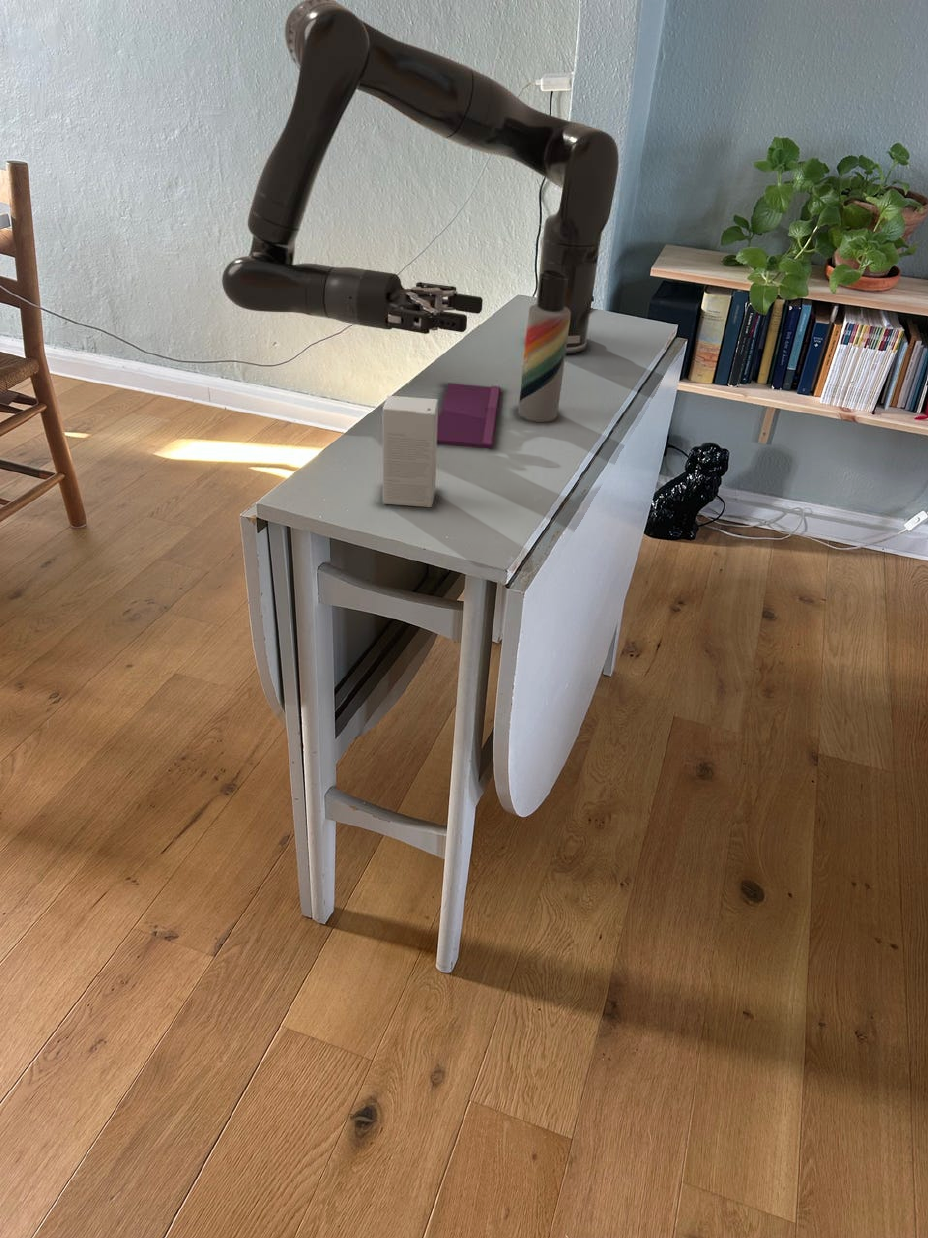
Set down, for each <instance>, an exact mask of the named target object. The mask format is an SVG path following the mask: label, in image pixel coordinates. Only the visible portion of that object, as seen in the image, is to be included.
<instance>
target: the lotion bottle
mask: <svg viewBox="0 0 928 1238" xmlns="http://www.w3.org/2000/svg"><path fill="white" fill-rule="evenodd" d="M538 279H539V287H538V286H537V289H538V297H537V296H536V298H537V304H536V303H534V304H532V305H530V306H529V309H528V315H527V325H526V333H525V344H524V351H523V361H522V362H523V363H522V369H521V371H522V372H521V378H520V379H521V380H520V390H519V399H518V414H519V416H520V417H522V418H523V419H525V420H528V421H531V422H537V423H545V422H551V421H554V420H555V419H556V418H557V416H558V413H559V412H558V411H559V405H560V398H561V390H562V384H563V383H562V382H563V375H564V370H565V369H564V368H565V361H566V347H567V339H568V332H569V324H570V316H571V312H570V310H569V309H568V308H566V307H564V306H565V299H566V292H567V285H568V277H567V276H566V275H565V274H563V273H561V272H559V271H554V270H544V271H543V273H542V274H541V275H540V278H539V277H538Z"/></svg>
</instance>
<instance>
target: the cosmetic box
mask: <svg viewBox="0 0 928 1238" xmlns="http://www.w3.org/2000/svg"><path fill="white" fill-rule="evenodd" d="M381 414H382V415H381V417H382V420H381V421H382V503H383V504H385V505H395V506H396V505H398V506H411V507H425V508H432V507H433V503H434V499H435V493H436V481H437V480H436V479H437V478H436V475H437V450H438V448H437V447H438V443H437V424H438V420H439V415H438V414H439V400H438V398H424V397H422V398H421V397H413V396H412V397H410V396H397V395H387V397H386V399H385V402H384V405H383V407H382V410H381Z"/></svg>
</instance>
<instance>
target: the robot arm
mask: <svg viewBox="0 0 928 1238" xmlns="http://www.w3.org/2000/svg"><path fill="white" fill-rule="evenodd" d="M284 40H285V45H286V48H287V51H288V54H289V56H290V58H291V60H292V62H293V63H294V65H295V66H296V68H297V69H298V70H299V73H298V78H297V85H296V90H295V96H294V100H293V103H292V107H291V110H290V113H289V116H288V118H287V121H286V123H285V126H284V128H283V129H282V132H281V134H280V135H279V138H278V140H277V141H276V142H275V145H274V146H273V149H272V150H271V152H270V154H269V156H268V158H267V159H266V162H265V163H264V166H263V169H262V171H261V174H260V176H259V179H258V182H257V186H256V189H255V192H254V195H253V198H252V203H251V206H250V209H249V212H248V216H247V217H248V218H247V228H248V230H249V232H250V234H251V235H252V241H251V246H250V250H249V254H248V255H245V256H240V257H236V258H235V259H233V260H232V261H230V262H229V263H228V264H227V265H226V267H225V268H224V270H223V273H222V276H221V283H222V289H223V292H224V294H225V295H226V297H227V298H228V299H229V301H231V302H232V303H233V304H234V305H235V306H237V307H239V308H242V309H243V310H248V311H254V312H263V313H295V314H296V313H297V314H303V315H307V316H312V317H317V318H323V319H331V320H335V321H338V322H341V323H345V324H350V325H356V326H363V327H369V328H375V329H382V330H389V331H390V330H392V329H397V330H401V331H406V332H412V333H419V334H424V335H427V334H430V331H438V330H445V331H451V332H458V333H464V332H465V331H466V330H467V329H468V328H467V326H468V316H467V315H466V314H464V313H471V314H477V315H478V314H481V312H482V311H483V304H484V302H483V300H484V299H483V297H481V296H478V295H472V294H463V293H458V291H457V287H456V286H454V285H445V284H436V283H429V282H422V281H419V282H416V283H415V286H413V287H410V288H405V287H403V285H402V281H401V277H400V276H399V275H398V274H396V273H393V272H385V271H379V270H372V269H365V268H359V267H352V266H333V265H325V264H319V263H308V262H307V263H305V262H304V263H297V264H294V260H295V253H296V242H297V241H296V240H297V237H298V235H299V232H300V229H301V226H302V223H303V220H304V217H305V214H306V211H307V207H308V205H309V201H310V198H311V195H312V192H313V189H314V186H315V184H316V180H317V177H318V174H319V172H320V169H321V166H322V164H323V161H324V159H325V156H326V154H327V152H328V150H329V147H330V145H331V142H332V140H333V138H334V136H335V134H336V132H337V129H338V128H339V125H340V123H341V121H342V119H343V116H344V114H345V112H346V111H347V108H348V107H349V106H350V103H351V101H352V99H353V97H354V95H355V93H356V92H357V91H360V92H362V93H365V94H367V95H370V96H373V97H375V98H377V99H379V100H380V101H382V102H384V103H386V104H387V105H389V106H390V107H391V108H393V109H395V110H396V111H397V112H398V113H401V114H402V115H403V116H405V117H407V118H408V119H409V120H411V121H413V122H414V123H416V124H417V125H420V126H421V127H423V128H425V129H426V130H427V131H430V132H432V133H434V134H436V135H438V136H440V137H442V138H444V139H447V140H449V141H451V142H453V143H456V144H457V145H460V146H463V147H466V148H468V149H472V150H475V151H477V152H482V153H485V154H489V155H493V156H499V157H503V158H508V159H511V160H513V161H516V162H518V163H520V164H522V165H523V166H525V167H527V168H529V169H530V170H532V171H534V172H535V173H537V174H538V175H540V176H542V177H543V178H545V179H546V180H548V181H549V182H550V183H552V184H554V185H555V186H557V187H558V188H560V189H561V195H560V201H559V207H558V210H557V211H556V212H555V213H553V214H551V215H549V216H548V217H546V219H545V221H544V224H543V233H542V242H541V251H540V264H539V270H538V271H539V272H538V280H537V288H536V290H537V291H536V297H535V298H536V299H535V304H537V297H538V287H539V278H540V275H541V274H542V273H543V271H544V270H554V271H559V272H561V273H563V274H565V275H566V276H567V277H568V285H567V292H566V299H565V306H564V307H566V308H568V309H569V310H570V312H571V316H570V324H569V332H568V339H567V347H566V354H567V355H568V354H576V353H577V354H578V353H580V352H582V351H584V350H585V349H586V347H587V343H588V342H587V341H588V340H587V336H588V330H589V324H590V316H591V309H592V304H593V302H594V301H595V296H594V289H595V284H596V283H595V282H596V277H597V268H598V261H599V255H600V247H601V240H602V235H603V232H604V230H605V228H606V226H607V224H608V222H609V219H610V215H611V211H612V205H613V199H614V195H615V191H616V185H617V179H618V172H619V164H620V159H619V157H620V155H619V149H618V145H617V143H616V141H615V139H614V137H613V136H611V134H609V133H608V132H606V131H604V130H602V129H599V128H596V127H593V126H591V125H587V124H583V123H580V122H576V121H571V120H567V119H565V118H564V119H563V118H560V117H557V116H553V115H551V114H548V113H545V112H542V111H540V110H537V109H535V108H533V107H531V106H529V105H528V104H526V103H525V102H524V101H522V99H520V98H519V97H517V95H515V94H514V93H513V92H512V91H511V90H509V89H508V88H507V87H505V86H504V85H502V84H501V83H499V82H498V81H496V80H495V79H493V78H491V77H489V76H487V75H486V74H483V73H481V72H479V71H477V70H475V69H473V68H472V67H469V66H467V65H465V64H463V63H461V62H458V61H456V60H454V59H451V58H448V57H445V56H444V55H440V54H438V53H436V52H433V51H430V50H428V49H424V48H421V47H418V46H415V45H412V44H409V43H406V42H403V41H401V40H398V39H396V38H393V37H392V36H390V35H387V34H386V33H384V32H382V31H380V30H378V29H377V28H376V27H374V26H372V25H370V24H368V23H367V22H365V21H364V20H362V19H361V18H359V17H358V16H357V15H356V14H355V13H353V11H351V10H350V9H348V8H347V7H346V6H344V5H342V4H340V3H339V2H338V1H336V0H303V1H301V2H299V3H298V4H297V5H295V6H294V7H293V8H292V10H291V11H290V13H289V14H288V16H287V18H286V21H285V26H284ZM445 297H446V298H447V299H446V298H445ZM451 311H457V312H463V313H457V312H451ZM566 354H565V355H566Z"/></svg>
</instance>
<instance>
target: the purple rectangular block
mask: <svg viewBox="0 0 928 1238" xmlns="http://www.w3.org/2000/svg"><path fill="white" fill-rule="evenodd" d="M501 389H502V388H501V387H500V385H499V386H498V385H491V386H485V385H472V384H462V383H453V382H452V383H450V382H448V383H447V387H446V390H445V393H444V398H443V402H442V405H441V409H440V413H439V415H438V421H437V444H442V445H443V444H444V445H451V446H452V445H453V446H462V447H473V448H485V449H493V448H494V441H495V434H496V428H497V427H496V426H497V420H498V419H497V418H498V412H499V404H500V397H501V396H500V395H501Z"/></svg>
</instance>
